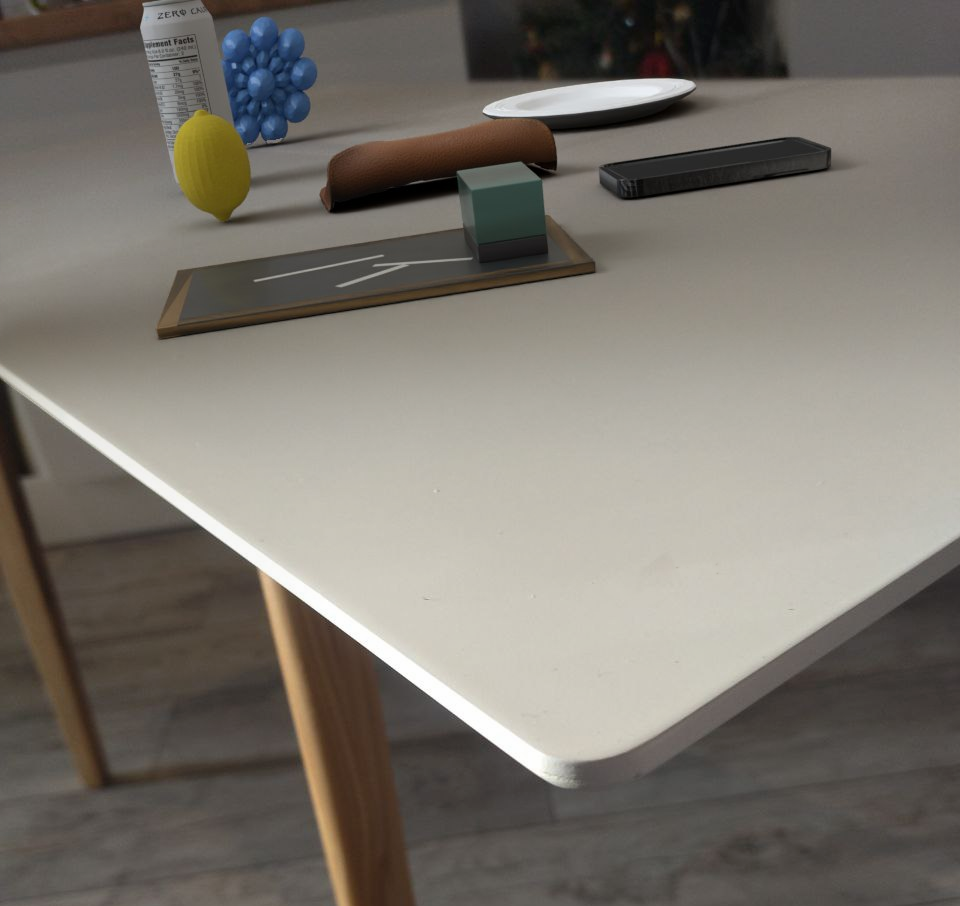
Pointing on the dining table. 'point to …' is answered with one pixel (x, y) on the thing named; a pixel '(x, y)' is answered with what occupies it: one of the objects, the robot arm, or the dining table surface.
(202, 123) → the lemon
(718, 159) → the phone
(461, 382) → the dining table surface
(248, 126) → the grapes
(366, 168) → the sunglasses case
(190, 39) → the energy drink can
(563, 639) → the dining table surface
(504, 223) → the eraser
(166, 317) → the slate board
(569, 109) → the plate
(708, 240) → the dining table surface
